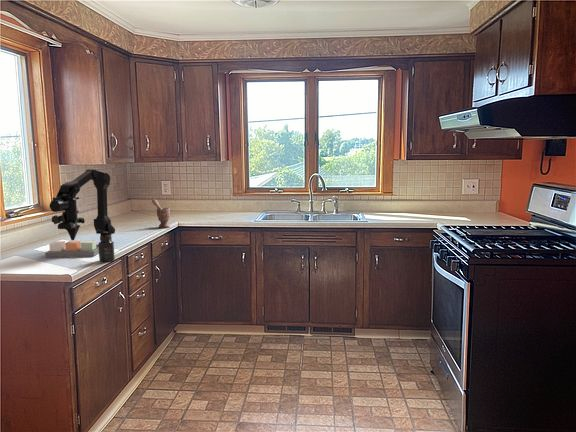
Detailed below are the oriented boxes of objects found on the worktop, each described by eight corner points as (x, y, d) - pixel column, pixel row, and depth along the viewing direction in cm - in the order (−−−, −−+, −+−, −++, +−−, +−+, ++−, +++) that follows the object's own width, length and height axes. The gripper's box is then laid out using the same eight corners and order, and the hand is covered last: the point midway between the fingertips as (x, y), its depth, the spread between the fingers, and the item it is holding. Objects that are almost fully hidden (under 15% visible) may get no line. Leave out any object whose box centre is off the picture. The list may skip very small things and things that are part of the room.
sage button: (85, 248, 225) (84, 240, 225) (96, 248, 226) (95, 240, 225) (81, 250, 220) (80, 242, 219) (92, 250, 220) (92, 242, 220)
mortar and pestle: (161, 229, 292) (160, 199, 289) (151, 228, 296) (150, 198, 293) (173, 227, 302) (172, 197, 299) (163, 226, 306) (162, 197, 303)
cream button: (54, 249, 224) (54, 241, 223) (65, 248, 224) (65, 241, 224) (49, 251, 219) (49, 243, 218) (61, 251, 219) (60, 243, 218)
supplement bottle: (116, 258, 214) (115, 234, 212) (111, 262, 207) (110, 237, 205) (102, 259, 214) (100, 234, 212) (96, 262, 207) (95, 237, 205)
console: (54, 252, 226) (53, 248, 226) (100, 251, 228) (100, 247, 228) (45, 257, 217) (45, 252, 216) (94, 256, 219) (93, 251, 218)
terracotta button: (70, 248, 225) (69, 241, 224) (81, 248, 225) (80, 240, 224) (65, 251, 219) (65, 243, 219) (77, 250, 220) (76, 243, 219)
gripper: (61, 207, 228) (63, 236, 230) (44, 212, 209) (47, 244, 212) (83, 206, 229) (86, 236, 231) (69, 211, 210) (71, 244, 213)
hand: (72, 240), depth 221 cm, fingers closed
